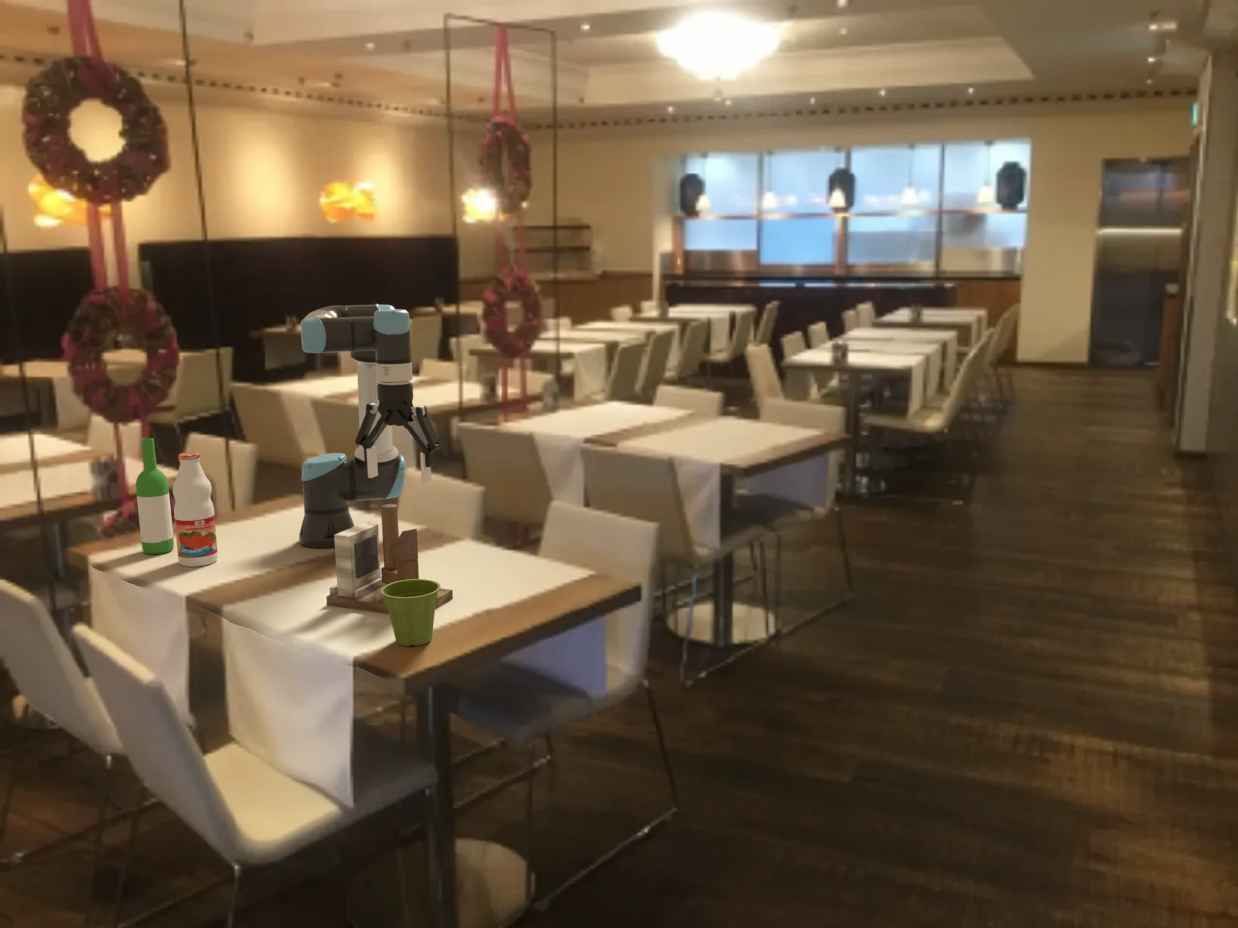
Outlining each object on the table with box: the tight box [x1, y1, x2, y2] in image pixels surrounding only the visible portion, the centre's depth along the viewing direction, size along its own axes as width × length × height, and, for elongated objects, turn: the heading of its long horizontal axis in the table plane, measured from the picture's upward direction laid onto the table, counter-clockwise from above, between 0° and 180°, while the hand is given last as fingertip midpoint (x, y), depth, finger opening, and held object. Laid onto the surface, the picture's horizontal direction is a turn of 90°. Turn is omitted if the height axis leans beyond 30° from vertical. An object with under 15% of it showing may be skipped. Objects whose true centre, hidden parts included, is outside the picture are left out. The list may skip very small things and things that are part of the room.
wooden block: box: [380, 503, 420, 585], centre depth 241 cm, size 4×11×18 cm, turn 41°
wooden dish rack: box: [325, 522, 454, 615], centre depth 243 cm, size 14×24×16 cm, turn 68°
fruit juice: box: [172, 451, 219, 568], centre depth 273 cm, size 9×9×28 cm
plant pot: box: [381, 578, 441, 647], centre depth 219 cm, size 12×12×11 cm
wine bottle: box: [135, 437, 175, 555], centre depth 282 cm, size 8×8×30 cm
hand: (399, 479), depth 237 cm, fingers open, 13 cm apart
